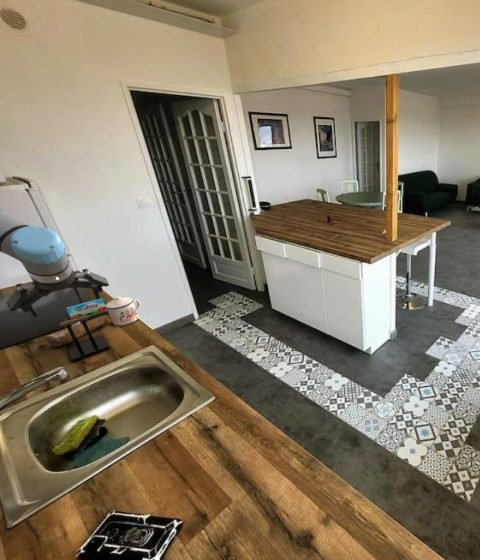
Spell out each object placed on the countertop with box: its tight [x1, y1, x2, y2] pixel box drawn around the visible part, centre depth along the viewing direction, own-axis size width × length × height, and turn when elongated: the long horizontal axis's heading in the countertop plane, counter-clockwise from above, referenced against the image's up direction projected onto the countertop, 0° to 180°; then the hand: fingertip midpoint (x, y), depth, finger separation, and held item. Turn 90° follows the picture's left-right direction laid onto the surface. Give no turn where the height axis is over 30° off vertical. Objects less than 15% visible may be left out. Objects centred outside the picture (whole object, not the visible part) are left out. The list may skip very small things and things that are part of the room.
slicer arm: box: [59, 315, 90, 328], centre depth 108 cm, size 13×7×2 cm, turn 50°
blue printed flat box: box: [66, 297, 108, 320], centre depth 137 cm, size 12×2×6 cm, turn 140°
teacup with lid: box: [105, 295, 141, 327], centre depth 134 cm, size 12×9×12 cm
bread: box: [43, 316, 108, 348], centre depth 123 cm, size 6×19×6 cm, turn 163°
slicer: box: [62, 314, 110, 363], centre depth 114 cm, size 12×10×14 cm
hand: (67, 303), depth 93 cm, fingers open, 13 cm apart
